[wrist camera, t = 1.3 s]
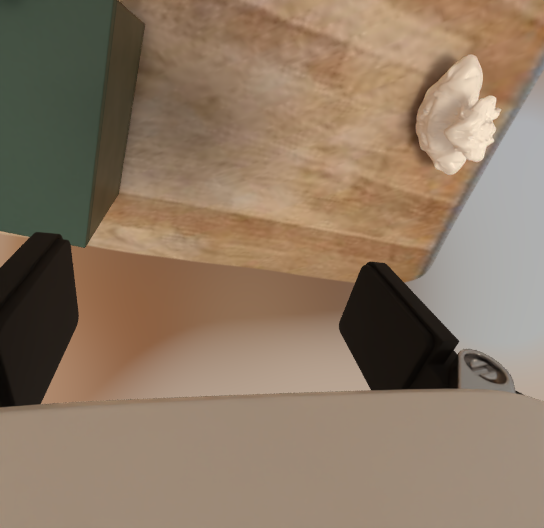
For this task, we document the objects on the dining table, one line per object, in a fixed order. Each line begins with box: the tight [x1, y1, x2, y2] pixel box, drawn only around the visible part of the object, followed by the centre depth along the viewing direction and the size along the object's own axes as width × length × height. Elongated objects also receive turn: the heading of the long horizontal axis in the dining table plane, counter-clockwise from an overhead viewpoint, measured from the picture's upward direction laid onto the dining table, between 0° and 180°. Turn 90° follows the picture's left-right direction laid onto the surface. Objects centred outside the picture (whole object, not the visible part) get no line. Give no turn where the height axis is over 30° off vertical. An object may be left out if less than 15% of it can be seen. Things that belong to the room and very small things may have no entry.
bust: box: [416, 54, 501, 175], centre depth 34 cm, size 12×8×11 cm
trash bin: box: [88, 1, 145, 242], centre depth 24 cm, size 16×14×12 cm
